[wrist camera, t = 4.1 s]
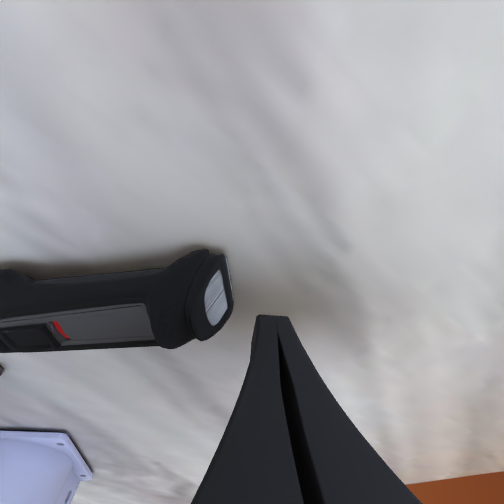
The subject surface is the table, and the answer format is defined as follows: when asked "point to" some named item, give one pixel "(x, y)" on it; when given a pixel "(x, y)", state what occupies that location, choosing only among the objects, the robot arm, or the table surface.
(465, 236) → the table surface
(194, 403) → the table surface
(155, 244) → the table surface
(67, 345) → the electric trimmer
